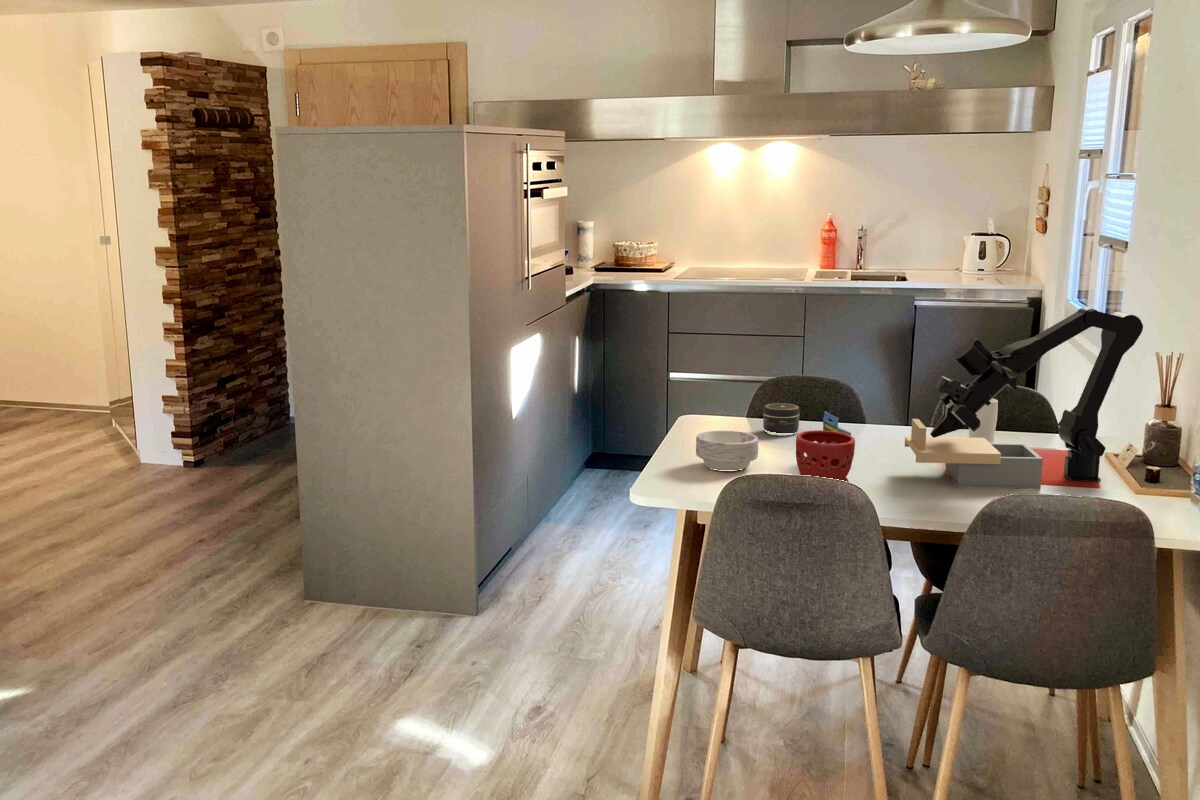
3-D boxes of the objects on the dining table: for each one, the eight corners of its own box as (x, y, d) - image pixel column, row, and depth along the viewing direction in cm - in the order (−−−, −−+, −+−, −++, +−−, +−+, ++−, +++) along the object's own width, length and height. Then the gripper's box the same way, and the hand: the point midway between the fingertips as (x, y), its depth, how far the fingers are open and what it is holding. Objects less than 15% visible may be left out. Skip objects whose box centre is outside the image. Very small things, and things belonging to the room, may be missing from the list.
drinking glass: (993, 456, 267) (997, 397, 264) (995, 462, 260) (999, 403, 257) (965, 454, 268) (968, 396, 265) (966, 461, 262) (970, 401, 259)
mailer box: (1023, 472, 251) (1025, 443, 249) (1040, 488, 237) (1042, 458, 236) (945, 471, 253) (946, 442, 252) (957, 487, 239) (959, 457, 238)
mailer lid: (983, 447, 252) (985, 417, 250) (1000, 464, 236) (1002, 432, 235) (904, 446, 254) (905, 416, 252) (916, 462, 238) (917, 430, 237)
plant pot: (794, 494, 236) (796, 441, 233) (794, 478, 248) (796, 428, 246) (854, 496, 233) (856, 443, 231) (851, 480, 246) (853, 430, 244)
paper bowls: (770, 467, 259) (771, 435, 257) (730, 479, 248) (731, 446, 247) (723, 456, 270) (723, 426, 268) (683, 467, 259) (683, 436, 258)
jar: (794, 428, 300) (794, 402, 299) (803, 436, 291) (803, 409, 289) (759, 429, 300) (759, 403, 298) (767, 437, 290) (767, 410, 289)
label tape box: (851, 466, 259) (853, 417, 256) (836, 467, 258) (837, 418, 256) (836, 457, 267) (837, 410, 265) (821, 458, 266) (822, 410, 264)
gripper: (950, 358, 250) (900, 404, 253) (967, 371, 232) (914, 420, 235) (983, 391, 251) (933, 436, 254) (1003, 406, 232) (949, 455, 236)
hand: (931, 436), depth 245 cm, fingers closed
